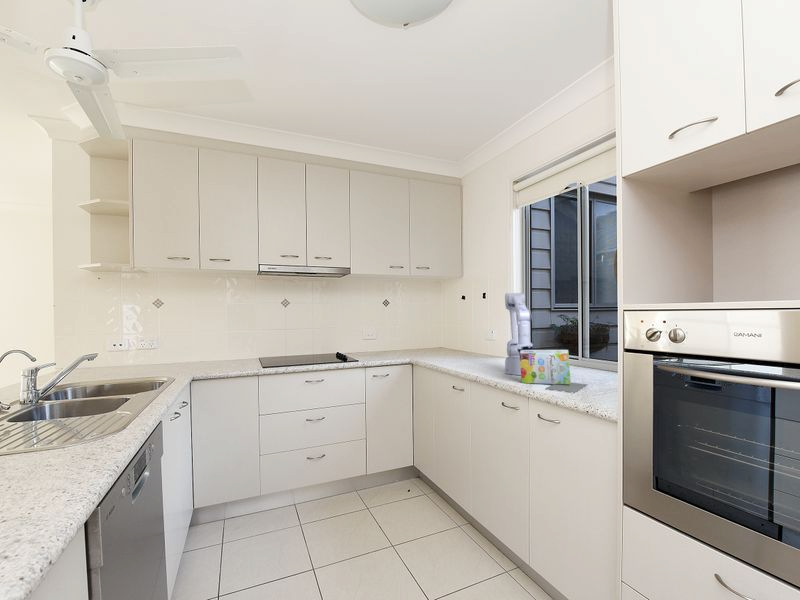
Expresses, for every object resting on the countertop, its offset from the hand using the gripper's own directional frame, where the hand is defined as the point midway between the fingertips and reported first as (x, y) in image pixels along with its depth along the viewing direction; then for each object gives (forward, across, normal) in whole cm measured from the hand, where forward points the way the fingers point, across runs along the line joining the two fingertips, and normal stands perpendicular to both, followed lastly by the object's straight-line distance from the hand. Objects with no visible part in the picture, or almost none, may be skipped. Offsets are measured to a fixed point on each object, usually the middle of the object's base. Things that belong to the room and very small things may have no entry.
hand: (524, 362), depth 179 cm
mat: (+9, -2, -20) cm, 22 cm away
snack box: (+8, 0, -10) cm, 13 cm away
